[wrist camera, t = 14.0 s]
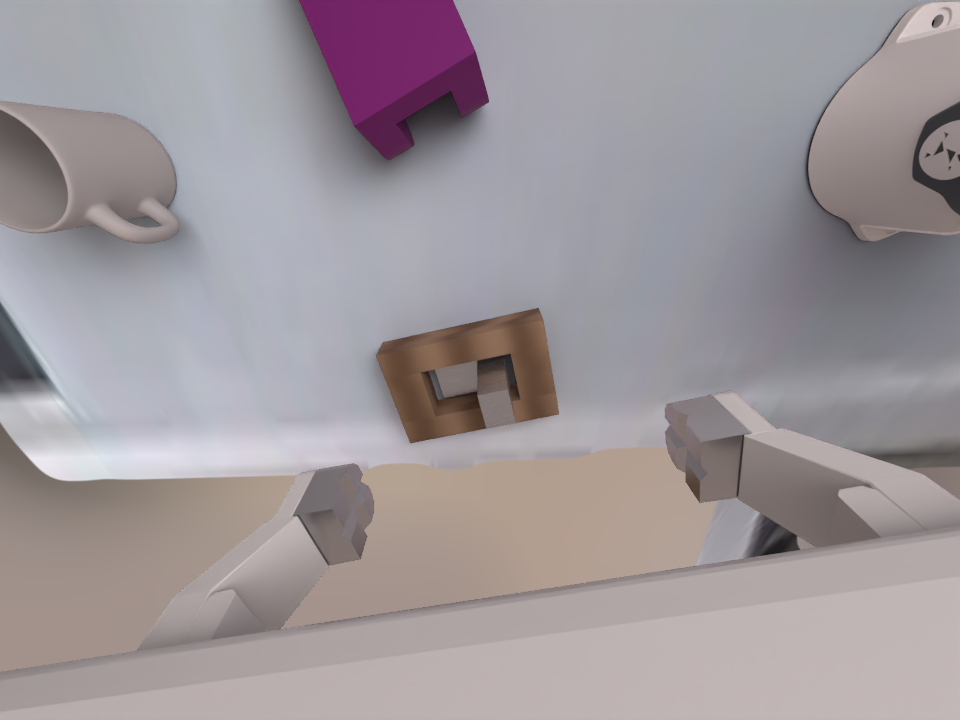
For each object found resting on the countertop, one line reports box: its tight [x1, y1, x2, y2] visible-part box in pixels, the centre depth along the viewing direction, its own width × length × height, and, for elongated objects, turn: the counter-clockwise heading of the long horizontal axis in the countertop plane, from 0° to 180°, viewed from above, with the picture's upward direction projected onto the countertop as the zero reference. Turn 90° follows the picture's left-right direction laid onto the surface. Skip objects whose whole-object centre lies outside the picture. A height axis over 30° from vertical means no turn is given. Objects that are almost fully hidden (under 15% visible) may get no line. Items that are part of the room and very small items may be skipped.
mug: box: [0, 101, 180, 243], centre depth 32 cm, size 12×8×11 cm
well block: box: [376, 308, 559, 443], centre depth 45 cm, size 18×12×4 cm, turn 103°
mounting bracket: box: [299, 0, 489, 160], centre depth 31 cm, size 9×8×18 cm
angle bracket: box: [435, 355, 516, 428], centre depth 43 cm, size 8×4×9 cm, turn 103°
